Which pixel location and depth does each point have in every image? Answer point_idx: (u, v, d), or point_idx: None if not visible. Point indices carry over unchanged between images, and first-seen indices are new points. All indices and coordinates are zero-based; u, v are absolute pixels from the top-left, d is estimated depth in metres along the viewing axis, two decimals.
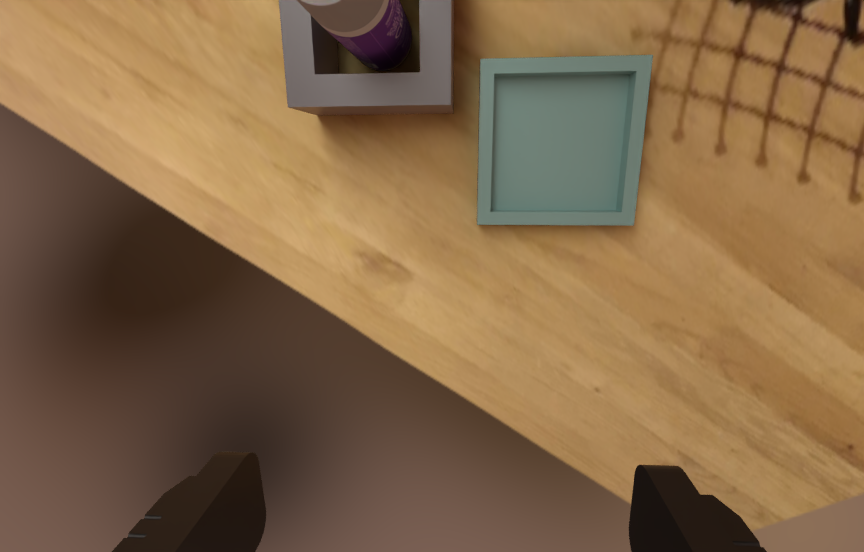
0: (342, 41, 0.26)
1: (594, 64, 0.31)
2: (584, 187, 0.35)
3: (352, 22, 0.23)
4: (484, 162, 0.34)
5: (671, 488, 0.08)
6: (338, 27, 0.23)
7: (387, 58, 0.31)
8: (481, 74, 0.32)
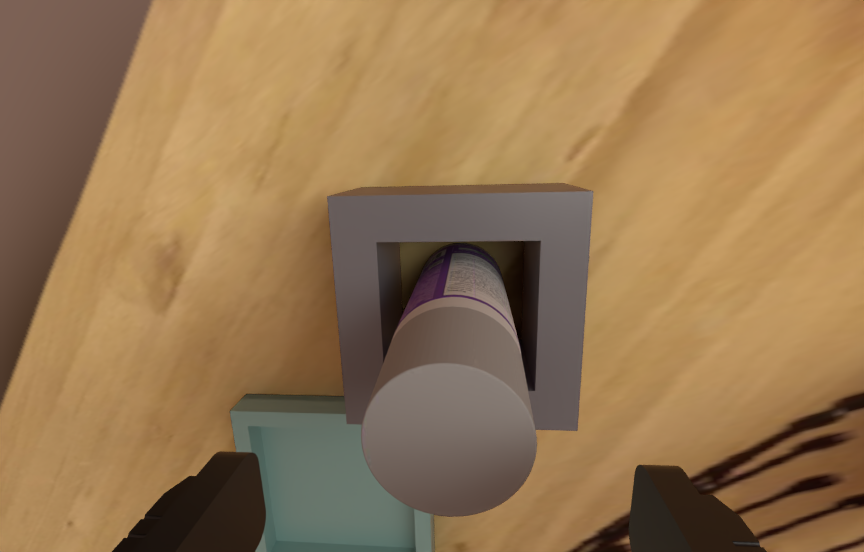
0: None
1: (421, 529, 0.28)
2: (297, 510, 0.30)
3: None
4: (306, 419, 0.26)
5: (671, 488, 0.08)
6: None
7: None
8: None
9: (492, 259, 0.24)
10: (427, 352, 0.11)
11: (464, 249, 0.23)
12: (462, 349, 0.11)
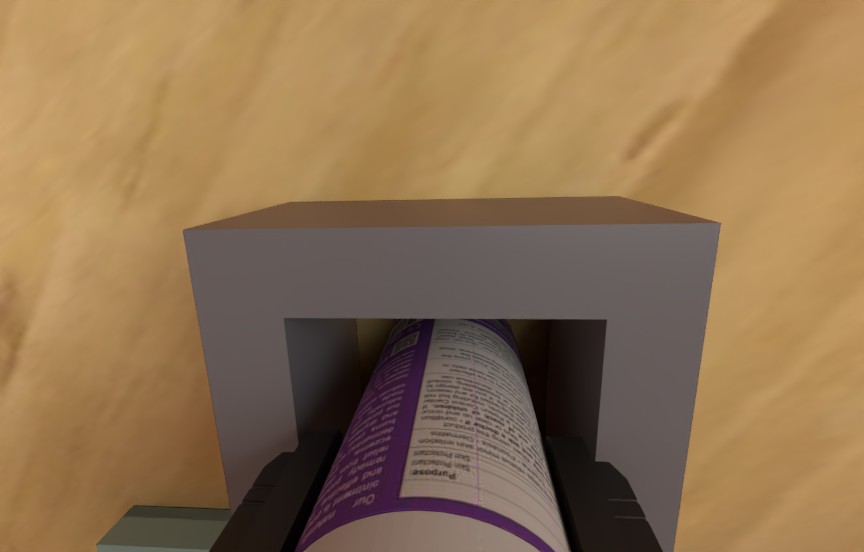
0: (313, 509, 0.08)
1: None
2: None
3: None
4: None
5: (567, 454, 0.09)
6: None
7: None
8: None
9: (502, 320, 0.15)
10: None
11: None
12: None
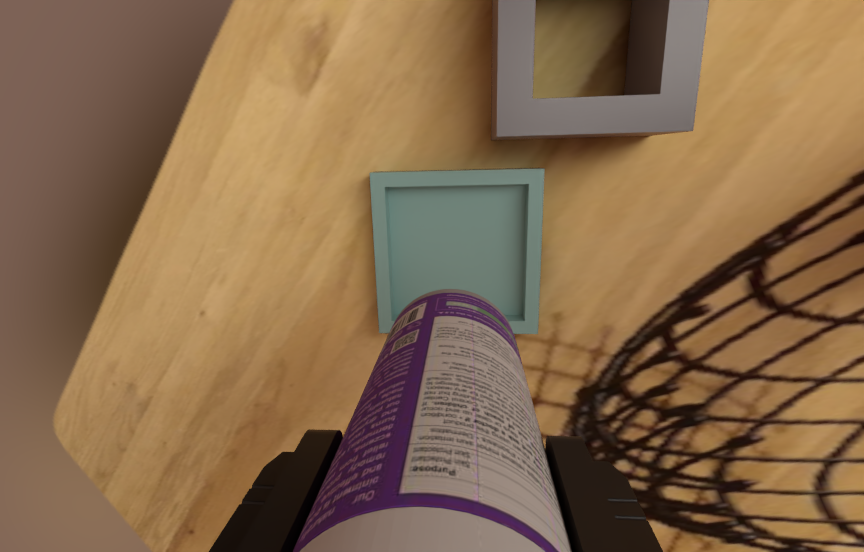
0: None
1: (532, 283, 0.32)
2: (415, 283, 0.34)
3: None
4: (437, 177, 0.31)
5: (567, 454, 0.09)
6: None
7: None
8: (528, 170, 0.30)
9: (501, 318, 0.15)
10: None
11: (456, 306, 0.14)
12: None
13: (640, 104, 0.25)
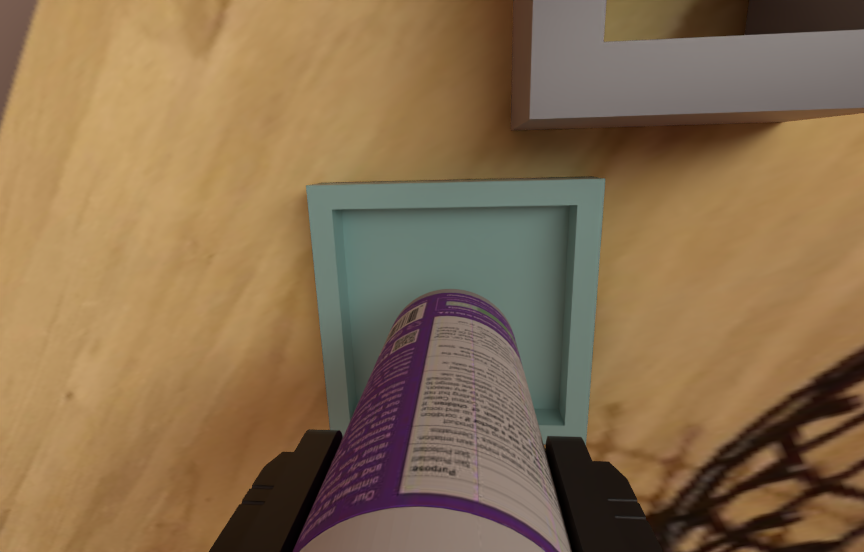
0: None
1: (578, 367, 0.19)
2: None
3: None
4: (421, 194, 0.18)
5: (567, 454, 0.09)
6: None
7: None
8: (577, 181, 0.17)
9: (501, 318, 0.15)
10: None
11: (455, 305, 0.14)
12: None
13: (827, 52, 0.12)
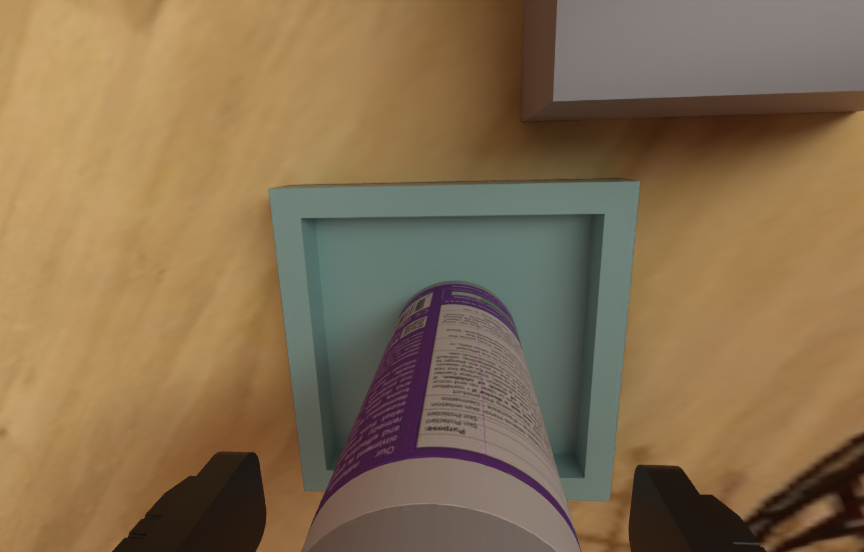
0: (335, 468, 0.09)
1: (602, 410, 0.16)
2: None
3: None
4: (410, 199, 0.15)
5: (671, 488, 0.08)
6: None
7: None
8: (605, 184, 0.14)
9: (503, 308, 0.16)
10: None
11: (460, 295, 0.15)
12: None
13: None
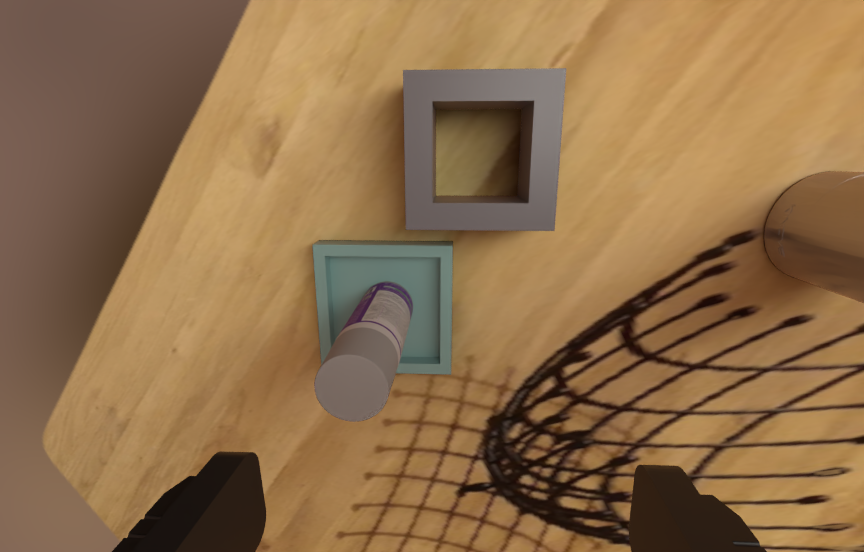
0: None
1: (445, 334, 0.40)
2: None
3: None
4: (367, 250, 0.38)
5: (671, 488, 0.08)
6: None
7: None
8: (440, 246, 0.37)
9: (405, 292, 0.39)
10: (344, 349, 0.26)
11: (386, 287, 0.38)
12: (358, 349, 0.26)
13: (514, 210, 0.32)
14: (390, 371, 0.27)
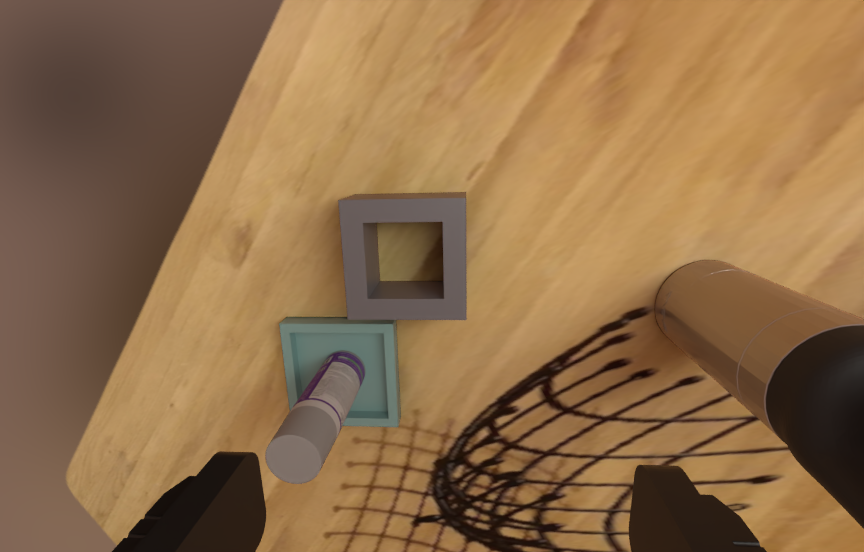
0: None
1: (391, 394, 0.47)
2: None
3: None
4: (324, 327, 0.46)
5: (671, 488, 0.08)
6: None
7: None
8: (382, 324, 0.45)
9: (357, 360, 0.47)
10: (287, 429, 0.34)
11: (340, 357, 0.46)
12: (298, 428, 0.34)
13: (433, 304, 0.40)
14: (324, 444, 0.35)
